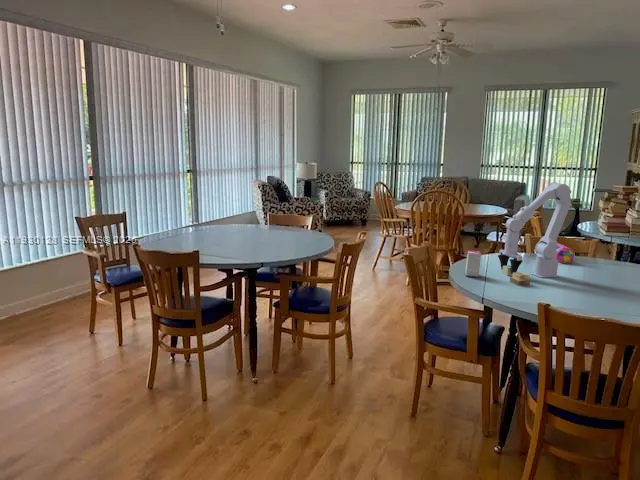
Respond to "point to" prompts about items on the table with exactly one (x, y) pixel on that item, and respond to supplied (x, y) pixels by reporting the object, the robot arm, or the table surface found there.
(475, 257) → the supplement box
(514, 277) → the tower mid
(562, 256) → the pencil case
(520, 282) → the tower base
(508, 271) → the top block
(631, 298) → the table surface
